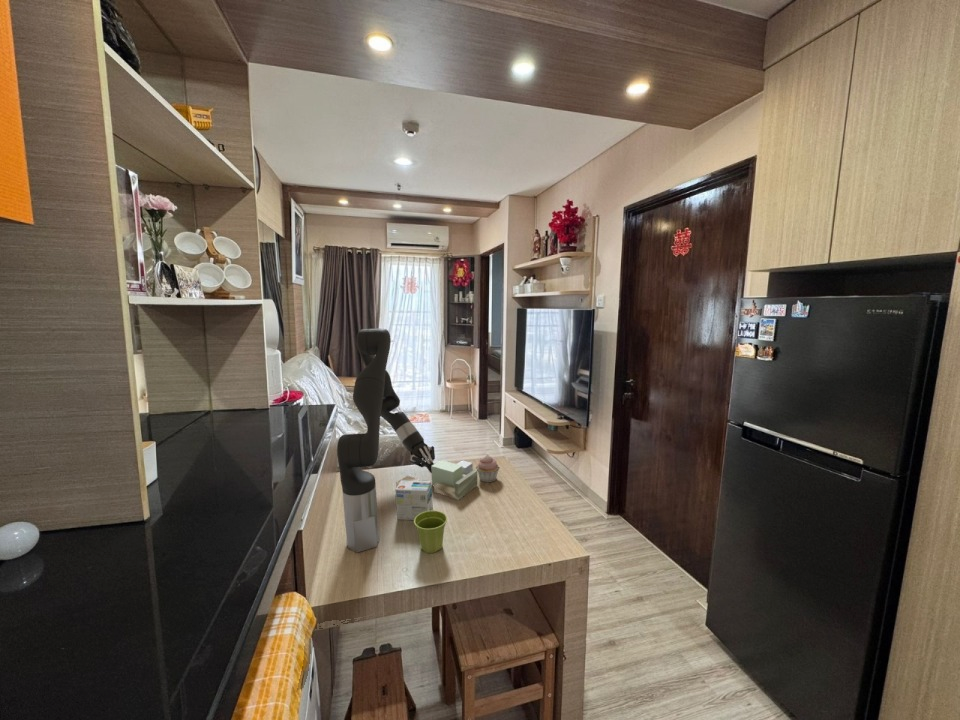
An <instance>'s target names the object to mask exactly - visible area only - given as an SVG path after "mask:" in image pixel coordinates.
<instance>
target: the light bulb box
mask: <svg viewBox="0 0 960 720" xmlns="http://www.w3.org/2000/svg"><path fill="white" fill-rule="evenodd" d="M400 480H401V479H400ZM394 492H395V503H396V504H395V506H396V516H397V517H396V520H404V521H405V520H407V521H408V520H409V521H414V519H415V517H416V516H417V515H418V514H420V513H423V512H426V511H434V505H433V504H434V503H433V502H434V501H433V486H432V480H420V481H404V480H401V482H400V483H399V485H398V486H397V488H395V491H394Z"/></svg>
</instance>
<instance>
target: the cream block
mask: <svg viewBox="0 0 960 720" xmlns="http://www.w3.org/2000/svg"><path fill="white" fill-rule="evenodd" d="M401 480H404V481H421V479H419V478H418V477H417V478H416V477H413V476H410V475H407V476H405V477H403V478H401V479H399V480H398V481H396V482H395V487H396V488H397V486H398V485H399V483H400V482H401ZM396 488H395V489H396Z"/></svg>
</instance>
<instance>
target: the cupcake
mask: <svg viewBox="0 0 960 720" xmlns="http://www.w3.org/2000/svg"><path fill="white" fill-rule="evenodd" d="M475 468H476V469H475V470H476V471H477V475H478V476H479V477H478V478H479V480H480V481H481V482H483V483H493V482H495V481H496V479H497V477H498V474H499V473H498V472H499V470H500V468H501V467H500V466H499V464H498V463H497V460H496V458H494V457H493V456H490V455H489V454H486V455H485V456H483V457H482V458H480V460H479V461H478V463H477V465H476V466H475Z"/></svg>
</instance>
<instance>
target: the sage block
mask: <svg viewBox="0 0 960 720" xmlns="http://www.w3.org/2000/svg"><path fill="white" fill-rule="evenodd" d="M431 472H432V474H431V483H432V485H434V484H435V483H439V484H443V485H446V486H449V487H452V488H455V483H456V482H457V481H459V480H460V479H462V478H463V468H462V465H458V464H457V463H454V462H450V461H446V460H443V459H440V460H438V461H437V462H436V463H434V465H432V466H431Z"/></svg>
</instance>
